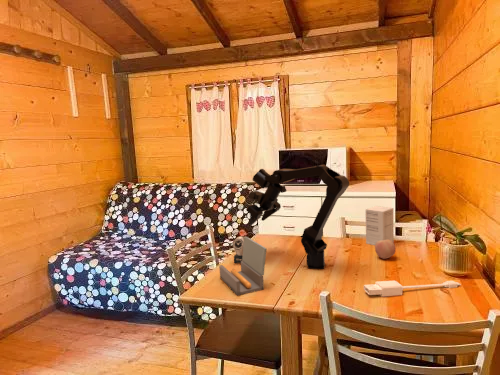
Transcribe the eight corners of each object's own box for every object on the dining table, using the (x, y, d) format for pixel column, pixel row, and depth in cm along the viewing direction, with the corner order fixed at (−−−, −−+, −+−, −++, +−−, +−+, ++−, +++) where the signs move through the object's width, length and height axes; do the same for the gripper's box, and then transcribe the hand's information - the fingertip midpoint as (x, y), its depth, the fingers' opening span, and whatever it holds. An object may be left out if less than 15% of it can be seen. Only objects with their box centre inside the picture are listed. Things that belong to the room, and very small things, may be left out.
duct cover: (242, 260, 141) (244, 260, 141) (261, 275, 125) (263, 275, 125) (244, 236, 140) (246, 236, 141) (264, 248, 124) (266, 248, 124)
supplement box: (376, 239, 176) (376, 205, 174) (394, 242, 169) (394, 207, 166) (365, 243, 170) (364, 208, 168) (383, 247, 163) (383, 211, 160)
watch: (232, 264, 152) (230, 239, 151) (239, 258, 160) (237, 234, 158) (244, 265, 150) (243, 240, 149) (251, 259, 158) (249, 234, 156)
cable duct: (244, 272, 142) (243, 260, 141) (263, 289, 126) (262, 275, 125) (220, 278, 138) (219, 265, 137) (237, 295, 122) (236, 281, 121)
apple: (392, 254, 153) (392, 236, 151) (398, 261, 145) (398, 242, 144) (373, 255, 153) (373, 237, 152) (377, 261, 146) (377, 242, 145)
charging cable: (464, 291, 118) (464, 282, 117) (369, 298, 114) (370, 288, 114) (453, 285, 123) (454, 276, 122) (363, 291, 119) (363, 281, 119)
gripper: (269, 181, 164) (255, 207, 171) (244, 186, 149) (230, 215, 156) (287, 195, 159) (272, 222, 166) (264, 203, 144) (248, 231, 151)
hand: (256, 222), depth 160 cm, fingers open, 9 cm apart
